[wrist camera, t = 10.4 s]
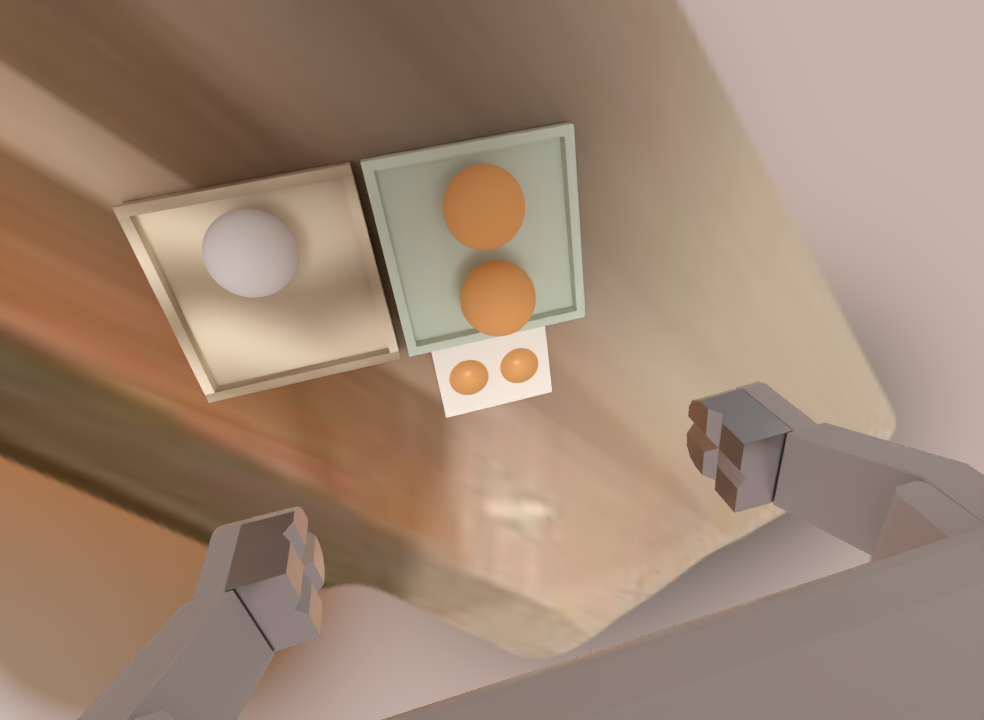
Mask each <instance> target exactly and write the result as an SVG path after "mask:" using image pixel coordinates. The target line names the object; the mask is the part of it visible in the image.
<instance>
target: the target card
mask: <svg viewBox="0 0 984 720" xmlns="http://www.w3.org/2000/svg"><path fill="white" fill-rule="evenodd" d="M431 354H432V358H433V362H434V367H435V371H436V375H437V380H438V384H439V389H440V393H441V397H442V402H443V406H444V410H445V415H446V418H447V417H452V416H456V415H460V414H464V413H468V412H472V411H476V410H480V409H484V408H488V407H492V406H497V405H501V404H505V403H509V402H513V401H517V400H521V399H525V398H529V397H533V396H537V395H541V394H546V393H550V392H552V388H551V378H550V369H549V359H548V349H547V340H546V330H545V326H542V327H538V328H534V329H529V330H525V331H520V332H516V333H513V334H510V335H507V336H499V337H494V338H490V339H485V340H481V341H477V342H472V343H468V344H464V345H459V346H455V347H450V348H446V349H442V350H437V351H433V352H431Z"/></svg>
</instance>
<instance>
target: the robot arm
mask: <svg viewBox="0 0 984 720" xmlns="http://www.w3.org/2000/svg"><path fill="white" fill-rule="evenodd" d="M688 416H689V417H690V418H691V419H692V421H693V422H694V424H693V425H692V427H691V428H690V430H689V431H688V432H687V447H688V450H689V454H690V457H691V459H692V461H693V463H694V465H695V466H696V468H697V469H698V470H699V471H700V472H701V474H702V475H704V476H707V477H709V478H711V479H714V480H715V490H716V492H717V493H718V494H719V495H720V496H721V497H722V499H723V500H724V501H725V502H726V503H727V504H728V506H729V507H730V508H731V509H732V510H733V511H734V513H735V512H739V511H743V510H746V509H750V508H754V507H758V506H761V505H765V504H769V503H772V502H774V505H776V506H778V507H779V508H781V509H783V510H785V511H787V512H789V513H791V514H793V515H795V516H797V517H799V518H801V519H803V520H804V521H806V522H808V523H810V524H812V525H814V526H816V527H818V528H820V529H822V530H824V531H826V532H828V533H830V534H831V535H833V536H835V537H837V538H839V539H841V540H843V541H845V542H847V543H849V544H850V545H853V546H855V547H856V548H858V549H860V550H862V551H864V552H866V553H868V554H870V555H871V557H870V560H869V563H866V564H863V565H860V566H857V567H854V568H851V569H848V570H845V571H842V572H838V573H836V574H832V575H829V576H826V577H823V578H820V579H817V580H814V581H811V582H808V583H805V584H801V585H798V586H795V587H792V588H789V589H786V590H783V591H780V592H776V593H774V594H770V595H767V596H764V597H761V598H758V599H755V600H752V601H749V602H746V603H743V604H740V605H736V606H733V607H730V608H727V609H724V610H721V611H718V612H715V613H712V614H709V615H705V616H702V617H699V618H696V619H693V620H690V621H687V622H684V623H681V624H678V625H675V626H672V627H668V628H665V629H662V630H659V631H656V632H653V633H650V634H647V635H644V636H641V637H638V638H635V639H631V640H628V641H625V642H622V643H619V644H616V645H613V646H610V647H606V648H604V649H600V650H597V651H594V652H591V653H588V654H585V655H582V656H578V657H576V658H572V659H569V660H566V661H563V662H560V663H557V664H554V665H551V666H547V667H545V668H541V669H538V670H535V671H532V672H529V673H526V674H523V675H520V676H516V677H513V678H510V679H507V680H504V681H501V682H498V683H495V684H492V685H488V686H485V687H482V688H479V689H476V690H473V691H470V692H466V693H463V694H460V695H457V696H454V697H451V698H448V699H445V700H442V701H439V702H435V703H432V704H429V705H426V706H423V707H420V708H417V709H414V710H411V711H408V712H405V713H401V714H398V715H395V716H392V717H389V718H386V719H383V720H984V475H983V474H981V473H980V472H978V471H977V470H975V469H974V468H972V467H971V466H969V465H968V464H966V463H962V462H959V461H956V460H952V459H948V458H945V457H942V456H938V455H935V454H931V453H927V452H924V451H921V450H917V449H914V448H911V447H907V446H904V445H900V444H896V443H893V442H890V441H886V440H883V439H879V438H876V437H872V436H869V435H866V434H862V433H859V432H855V431H852V430H848V429H845V428H841V427H838V426H834V425H831V424H828V423H822V424H817V423H815V422H814V421H813V420H811V419H810V418H809V417H808V416H806V415H805V414H804V413H802V412H801V411H800V410H799V409H797V408H796V407H795V406H793V405H792V404H791V403H790V402H788V401H787V400H786V399H784V398H783V397H782V396H781V395H779V394H778V393H777V392H775V391H774V390H773V389H772V388H770V387H769V386H768V385H766V384H765V383H761V382H755V383H752V384H748V385H745V386H741V387H738V388H736V389H732V390H728V391H725V392H721V393H717V394H714V395H710V396H707V397H703V398H699V399H696V400H692V402H691V404H690V406H689V415H688ZM307 525H308V519H307V517H306V515H305V513H304V511H303V509H302V508H301V507H298V506H297V507H293V508H289V509H285V510H281V511H277V512H273V513H269V514H265V515H260V516H256V517H252V518H248V519H245V520H242V521H238V522H234V523H230V524H226V525H222V526H218V527H217V529H216V530H215V531H214V532H213V534H212V537H211V540H210V544H209V547H208V550H207V554H206V557H205V560H204V563H203V567H202V570H201V573H200V577H199V580H198V583H197V586H196V590H195V593H194V596H193V599H192V602H189V603H186V604H183V605H182V606H181V607H180V609H178V611H177V612H176V613H175V614H174V615H173V616H172V617H171V618H170V619H169V620H168V622H166V624H165V625H164V626H163V627H162V628H161V629H160V630H159V631H158V632H157V633H156V634H155V636H154V637H153V638H152V639H151V640H150V641H149V642H148V643H147V644H146V645H145V646H144V647H143V649H142V650H141V651H140V652H139V653H138V654H137V655H136V656H135V657H134V658H133V659H132V661H131V662H130V663H129V664H128V665H127V666H126V667H125V668H124V669H123V670H122V671H121V673H120V674H119V675H118V676H117V677H116V678H115V679H114V680H113V681H112V682H111V684H110V685H109V686H108V687H107V688H106V689H105V690H104V691H103V692H102V693H101V694H100V695H99V696H98V698H97V699H96V700H95V701H94V702H93V703H92V704H91V705H90V706H89V707H88V708H87V709H86V711H85V712H84V713H83V714H82V715H81V716H80V717H79V718H78V719H77V720H237V718H238V717H239V715H240V713H241V711H242V710H243V708H244V706H245V704H246V703H247V701H248V699H249V698H250V696H251V694H252V692H253V691H254V689H255V687H256V685H257V684H258V682H259V680H260V679H261V677H262V675H263V674H264V672H265V670H266V668H267V667H268V665H269V663H270V661H271V660H272V658H273V656H274V652H275V651H278V650H281V649H284V648H287V647H290V646H293V645H296V644H299V643H302V642H305V641H308V640H311V639H314V638H317V637H320V636H321V625H322V608H323V603H322V601H321V599H320V597H319V596H318V591H319V590H320V588H321V587H322V586H323V584H324V572H325V570H324V561H323V554H322V551H321V547H320V544H319V542H318V540H317V537H316V535H314V534H312V533H310V532H308V531H307Z"/></svg>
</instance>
